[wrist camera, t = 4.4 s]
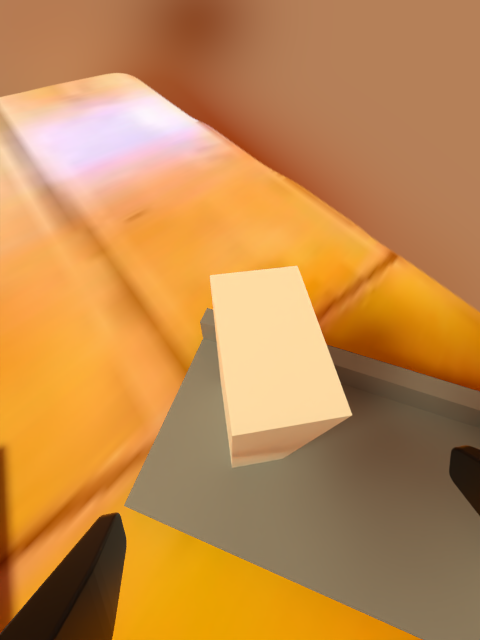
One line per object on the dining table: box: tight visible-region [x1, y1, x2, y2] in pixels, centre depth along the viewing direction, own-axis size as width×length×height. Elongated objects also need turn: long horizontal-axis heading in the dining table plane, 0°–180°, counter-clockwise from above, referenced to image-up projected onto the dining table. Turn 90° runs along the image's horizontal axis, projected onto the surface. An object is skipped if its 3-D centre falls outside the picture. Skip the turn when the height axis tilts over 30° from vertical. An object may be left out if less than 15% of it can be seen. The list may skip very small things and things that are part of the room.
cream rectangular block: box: [210, 266, 352, 468], centre depth 13 cm, size 5×3×11 cm, turn 9°
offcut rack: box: [124, 308, 480, 640], centre depth 14 cm, size 12×30×6 cm, turn 71°
